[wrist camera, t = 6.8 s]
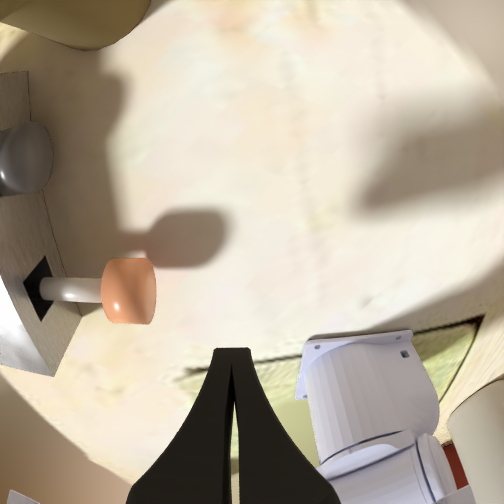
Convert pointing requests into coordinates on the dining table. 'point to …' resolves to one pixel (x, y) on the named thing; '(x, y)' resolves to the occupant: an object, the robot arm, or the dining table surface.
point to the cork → (75, 20)
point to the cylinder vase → (481, 442)
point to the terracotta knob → (111, 290)
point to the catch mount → (29, 264)
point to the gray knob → (25, 159)
